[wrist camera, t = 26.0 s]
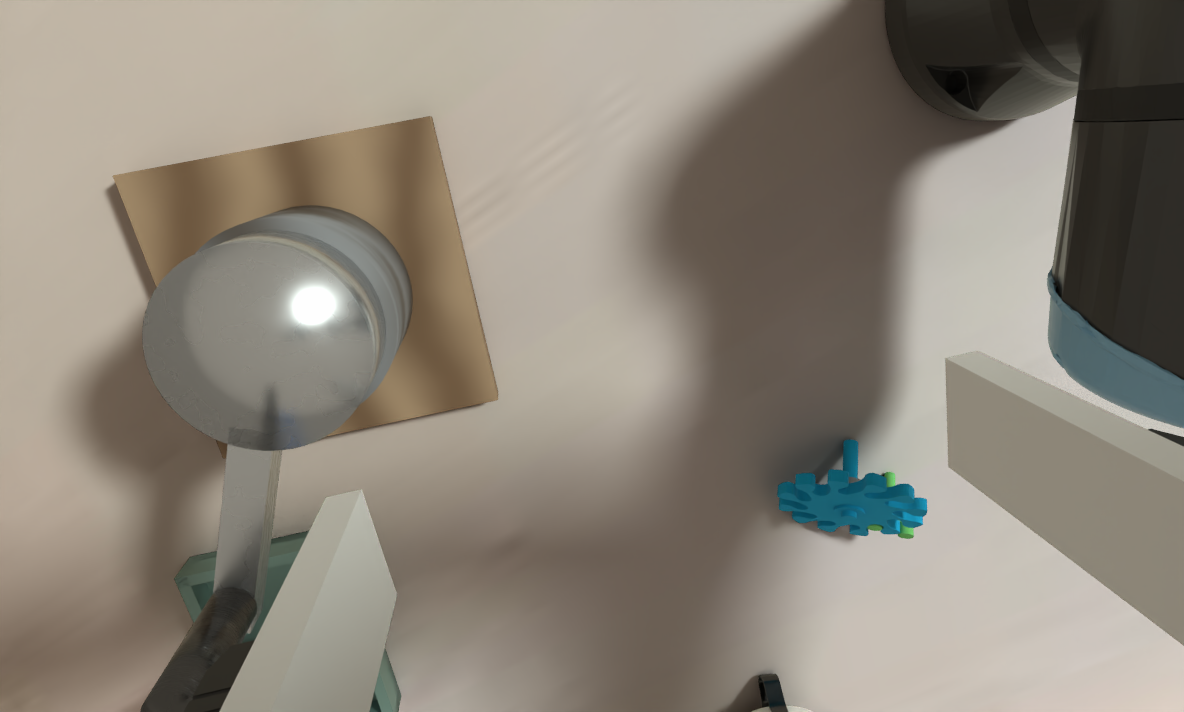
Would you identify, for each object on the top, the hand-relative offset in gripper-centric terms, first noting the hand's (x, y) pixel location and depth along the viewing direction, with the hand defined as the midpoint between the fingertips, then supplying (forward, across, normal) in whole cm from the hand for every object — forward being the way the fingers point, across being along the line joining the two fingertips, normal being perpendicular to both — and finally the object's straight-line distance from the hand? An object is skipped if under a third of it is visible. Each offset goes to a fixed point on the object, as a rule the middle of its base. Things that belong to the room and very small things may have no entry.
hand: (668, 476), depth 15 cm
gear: (+32, +16, -22) cm, 42 cm away
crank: (+23, -17, -4) cm, 29 cm away
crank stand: (+31, -15, 0) cm, 35 cm away
